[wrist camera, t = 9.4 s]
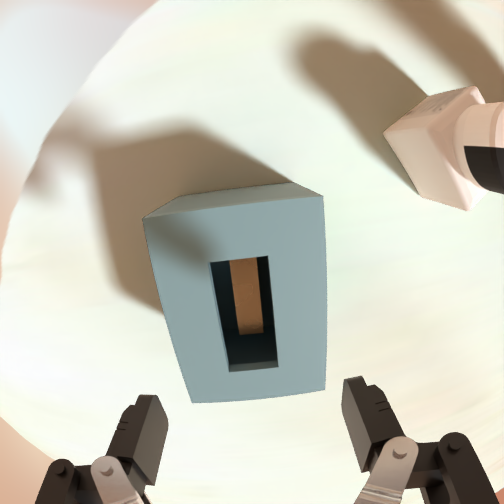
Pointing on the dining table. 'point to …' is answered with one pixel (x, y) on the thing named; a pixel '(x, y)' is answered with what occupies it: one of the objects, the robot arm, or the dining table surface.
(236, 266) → the block
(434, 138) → the container
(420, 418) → the dining table surface
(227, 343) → the coin box
